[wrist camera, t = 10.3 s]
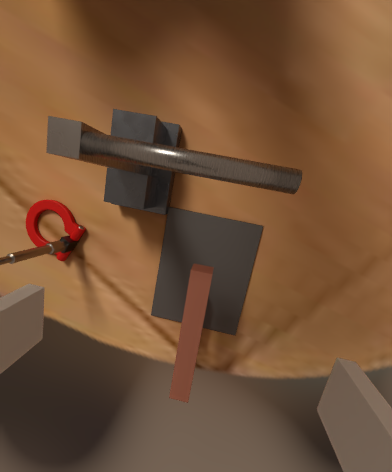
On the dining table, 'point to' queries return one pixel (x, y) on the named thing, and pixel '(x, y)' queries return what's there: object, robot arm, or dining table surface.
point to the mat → (208, 254)
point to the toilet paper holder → (155, 160)
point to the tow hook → (43, 246)
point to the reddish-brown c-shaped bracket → (191, 331)
